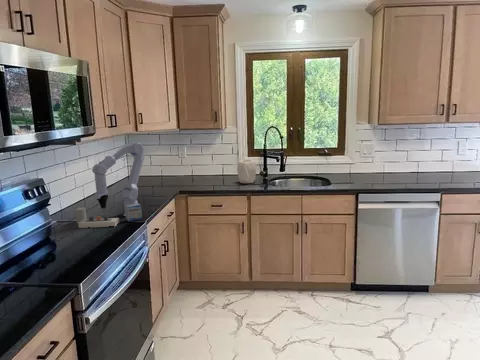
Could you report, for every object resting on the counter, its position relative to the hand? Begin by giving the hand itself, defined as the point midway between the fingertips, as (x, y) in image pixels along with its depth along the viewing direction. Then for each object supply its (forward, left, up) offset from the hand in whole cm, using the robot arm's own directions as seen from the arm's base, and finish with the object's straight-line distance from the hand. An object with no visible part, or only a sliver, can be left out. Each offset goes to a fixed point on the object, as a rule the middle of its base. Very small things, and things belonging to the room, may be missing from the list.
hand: (103, 208), depth 215 cm
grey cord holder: (+1, -13, -8) cm, 15 cm away
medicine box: (0, +17, -8) cm, 19 cm away
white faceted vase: (-100, +85, -8) cm, 131 cm away
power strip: (+9, 0, -7) cm, 12 cm away
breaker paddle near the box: (+9, +4, -4) cm, 11 cm away
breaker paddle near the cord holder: (+9, -4, -4) cm, 11 cm away
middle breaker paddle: (+9, 0, -4) cm, 10 cm away
